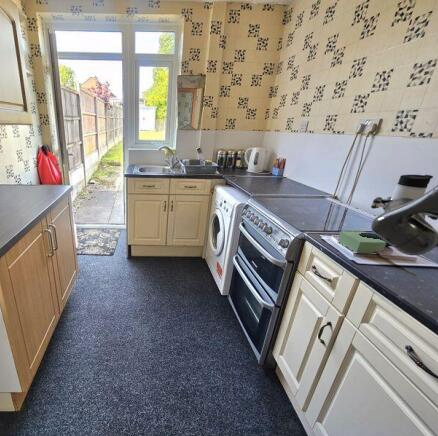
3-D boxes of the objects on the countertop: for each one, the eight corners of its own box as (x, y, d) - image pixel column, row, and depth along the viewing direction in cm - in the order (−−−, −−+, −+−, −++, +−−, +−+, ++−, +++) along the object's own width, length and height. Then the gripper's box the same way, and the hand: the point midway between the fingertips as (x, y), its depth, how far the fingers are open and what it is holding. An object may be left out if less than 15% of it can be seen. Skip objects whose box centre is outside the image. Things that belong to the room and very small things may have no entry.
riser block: (360, 242, 103) (364, 231, 101) (381, 254, 94) (386, 242, 92) (337, 241, 103) (340, 231, 101) (355, 253, 94) (360, 242, 92)
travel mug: (409, 242, 74) (439, 177, 67) (383, 239, 76) (409, 175, 69) (397, 234, 80) (424, 173, 73) (373, 231, 82) (396, 171, 75)
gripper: (451, 207, 59) (443, 195, 70) (372, 195, 68) (377, 186, 79) (437, 236, 61) (432, 219, 73) (363, 220, 71) (369, 208, 82)
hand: (403, 202), depth 76 cm, fingers closed on travel mug, 6 cm apart
